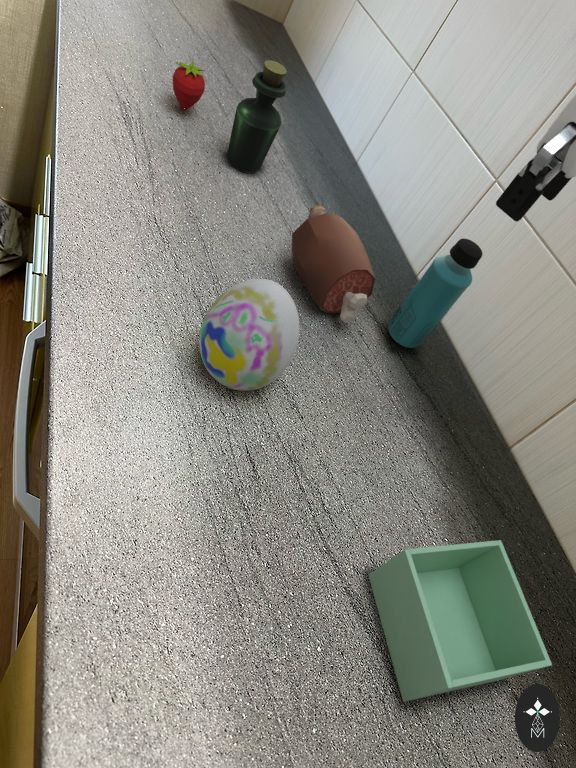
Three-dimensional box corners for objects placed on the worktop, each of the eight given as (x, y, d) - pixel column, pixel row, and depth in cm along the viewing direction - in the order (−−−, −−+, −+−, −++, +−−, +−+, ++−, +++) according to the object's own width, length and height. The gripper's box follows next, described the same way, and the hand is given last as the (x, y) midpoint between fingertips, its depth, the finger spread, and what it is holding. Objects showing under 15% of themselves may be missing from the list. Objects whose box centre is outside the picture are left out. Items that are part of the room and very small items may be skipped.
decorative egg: (171, 353, 75) (198, 272, 63) (235, 318, 82) (269, 239, 71) (235, 419, 72) (275, 346, 61) (295, 376, 80) (340, 304, 69)
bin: (458, 564, 72) (501, 539, 65) (500, 679, 65) (552, 665, 58) (368, 574, 66) (404, 549, 60) (402, 702, 59) (448, 688, 53)
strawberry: (169, 118, 105) (180, 65, 98) (165, 95, 109) (175, 42, 102) (200, 125, 108) (213, 73, 100) (195, 102, 112) (207, 51, 104)
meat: (372, 332, 91) (404, 288, 84) (310, 335, 86) (338, 288, 78) (326, 243, 101) (351, 196, 93) (268, 241, 95) (289, 191, 87)
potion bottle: (264, 156, 109) (298, 64, 96) (264, 181, 105) (300, 88, 91) (222, 143, 107) (251, 46, 94) (221, 168, 102) (251, 70, 89)
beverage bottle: (420, 359, 92) (497, 269, 77) (383, 349, 90) (455, 256, 75) (415, 329, 96) (488, 238, 81) (379, 319, 94) (447, 224, 79)
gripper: (658, 84, 46) (519, 245, 58) (702, 67, 56) (576, 205, 69) (584, 31, 47) (464, 198, 60) (640, 23, 58) (528, 167, 71)
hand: (524, 202), depth 65 cm, fingers open, 9 cm apart
